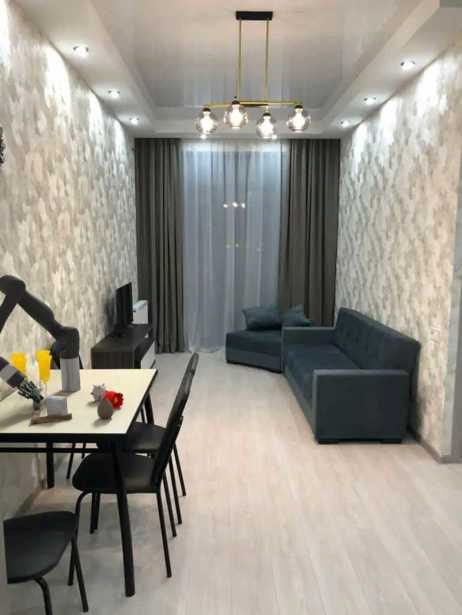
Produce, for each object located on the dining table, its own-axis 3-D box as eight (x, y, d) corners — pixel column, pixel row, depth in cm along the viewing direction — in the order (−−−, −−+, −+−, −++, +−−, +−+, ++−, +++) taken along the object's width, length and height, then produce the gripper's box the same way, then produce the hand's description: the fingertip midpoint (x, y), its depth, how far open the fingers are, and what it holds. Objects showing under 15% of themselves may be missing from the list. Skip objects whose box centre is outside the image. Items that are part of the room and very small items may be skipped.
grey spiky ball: (102, 408, 242) (102, 396, 235) (86, 402, 243) (86, 389, 236) (111, 395, 248) (112, 383, 241) (96, 388, 249) (96, 376, 243)
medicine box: (68, 415, 223) (67, 396, 222) (62, 419, 219) (60, 399, 217) (53, 413, 225) (52, 395, 224) (47, 417, 221) (45, 398, 220)
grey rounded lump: (99, 415, 222) (98, 396, 220) (115, 415, 222) (113, 395, 221) (96, 421, 215) (95, 401, 214) (112, 420, 215) (111, 400, 214)
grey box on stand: (33, 410, 230) (32, 388, 229) (71, 405, 235) (70, 384, 234) (31, 423, 213) (29, 400, 211) (72, 418, 218) (70, 396, 216)
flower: (114, 391, 239) (126, 393, 234) (110, 408, 237) (122, 410, 233) (102, 388, 233) (114, 391, 228) (97, 405, 231) (109, 408, 226)
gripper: (11, 374, 219) (41, 400, 221) (23, 365, 233) (51, 390, 235) (-1, 386, 219) (30, 412, 222) (12, 377, 233) (40, 401, 236)
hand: (41, 400), depth 228 cm, fingers closed on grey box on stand, 3 cm apart
